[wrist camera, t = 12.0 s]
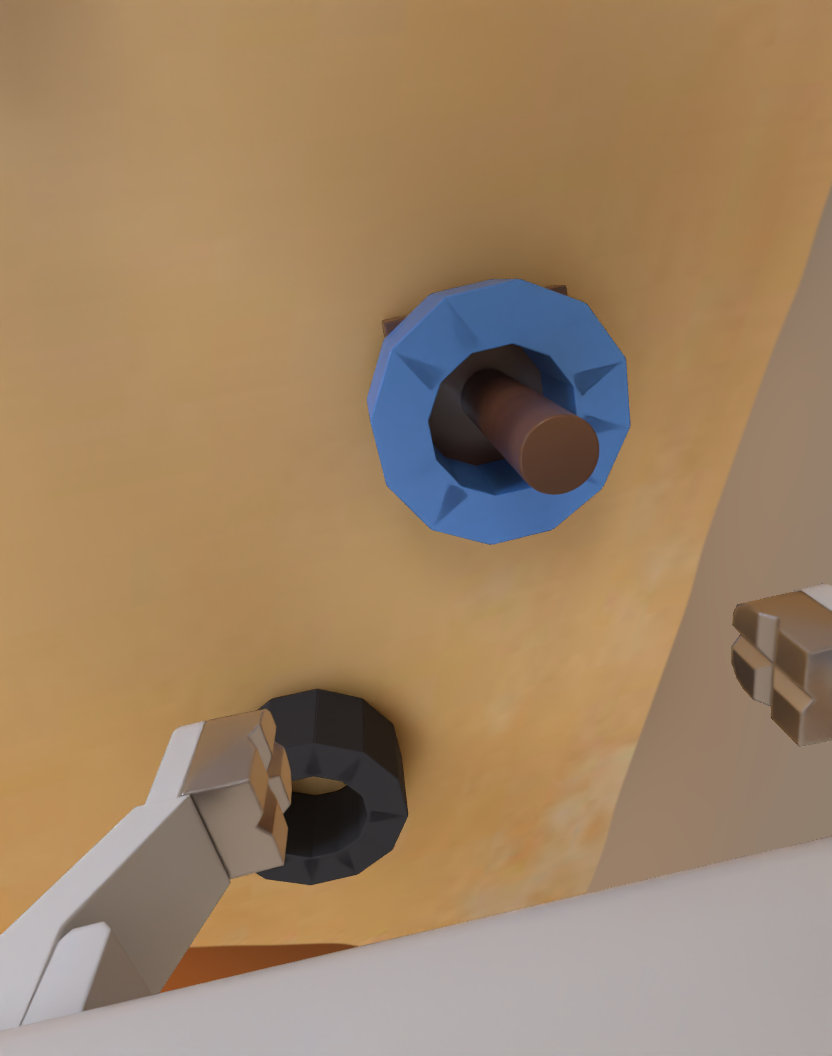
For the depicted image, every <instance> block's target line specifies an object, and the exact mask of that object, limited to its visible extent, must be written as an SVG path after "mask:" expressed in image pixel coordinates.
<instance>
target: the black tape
mask: <svg viewBox="0 0 832 1056" xmlns="http://www.w3.org/2000/svg"><path fill="white" fill-rule="evenodd" d="M262 709H267V710H268V711H270V712H271V715H272V717H273V719H274V722H275V724H276V734H275V742H277V743H278V744H280V745H282V746H283V747H284V749H285V752H286V755H287V757H288V762H289V766H290V771H291V781H294V780H299V779H303V778H307V777H312V776H315V777H321V778H326V779H332V780H338V781H342V782H344V783H345V784H346V785H347V786H346V787H344V788H343V789H342V790H340V791H337V792H333V793H328V794H324V795H319V796H312V795H306V794H300V793H294V792H292V794H291V805H290V806H289V807H288V809H287V810H286V811H285V812H284V814H283V816H284V818H285V821H286V824H287V826H288V834H287V843H286V852H285V860H284V865H283V866H279V867H275V868H271V869H267V870H263V871H260V872H256V873H257V874H258V875H260V876H261V877H263V878H265V879H269V880H276V881H284V882H291V883H298V884H306V885H314V884H318V883H323V882H327V881H331V880H336V879H340V878H345V877H349V876H353V875H357V874H359V873H360V872H362V871H363V870H365V869H366V868H367V867H369V866H370V865H372V864H373V863H375V862H376V861H377V860H379V859H380V858H382V857H383V856H384V855H386V854H387V853H389V852H390V851H391V850H392V849H393V848H394V846H395V843H396V841H397V839H398V837H399V835H400V832H401V830H402V828H403V826H404V824H405V821H406V819H407V817H408V808H407V799H406V790H405V781H404V773H403V764H402V756H401V753H400V749H399V745H398V741H397V737H396V733H395V729H394V726H393V724H392V723H391V722H390V721H389V720H387V719H386V718H385V717H384V716H383V715H381V714H380V713H379V712H378V711H377V710H375V709H374V708H373V707H372V706H371V705H369V704H368V703H367V702H366V701H365V700H364V699H362V698H357V697H352V696H348V695H343V694H338V693H334V692H329V691H324V690H319V689H318V690H317V689H316V690H311V691H307V692H302V693H297V694H293V695H288V696H284V697H279V698H275V699H272V700H270V701H269V702H268V703H266V704H265V705H264V706H263V707H261V708H260V709H259V710H262Z"/></svg>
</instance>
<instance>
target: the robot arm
mask: <svg viewBox="0 0 832 1056" xmlns="http://www.w3.org/2000/svg"><path fill="white" fill-rule="evenodd" d="M732 625H733V626H734V627H735V628H736V629H737V631H738V632H739V633H740V635H739V637H738V638H737V640H736V641H735V642H734V644H733V645H732V648H731V650H732V651H731V652H732V666H733V668H734V672H735V675H736V678H737V679H738V681H739V683H740V685H741V686H742V688H743V689H744V690H745V691H746V692H747V693H748V695H749V696H750V697H751V698H752V699H753V700H755V701H758V702H760V703H763V704H766V705H768V706H770V707H771V719H772V720H773V721H774V722H775V723H776V724H777V725H778V726H779V727H780V728H781V729H782V730H783V731H784V732H785V733H786V734H787V735H788V736H789V737H790V738H791V739H792V740H793V741H794V742H795V743H796V744H797V745H798V746H799V747H801V746H806V745H811V744H816V743H821V742H826V741H831V740H832V585H828V584H823V583H822V584H818V585H814V586H810V587H806V588H802V589H798V590H794V591H793V592H790V593H786V594H781V595H777V596H772V597H768V598H763V599H759V600H755V601H750V602H746V603H741V604H737V606H736V608H735V610H734V612H733V624H732ZM275 734H276V724H275V722H274V719H273V717H272V715H271V712H270V711H268V710H267V709H262V710H257V711H252V712H247V713H242V714H237V715H231V716H226V717H221V718H216V719H211V720H208V721H203V722H198V723H193V724H189V725H184V726H179V727H178V728H177V729H176V730H175V731H174V732H173V733H172V736H171V738H170V741H169V743H168V746H167V748H166V751H165V754H164V756H163V759H162V761H161V764H160V767H159V769H158V772H157V774H156V777H155V779H154V782H153V785H152V787H151V790H150V792H149V795H148V797H147V800H146V803H145V805H142V806H137V807H135V808H134V809H133V810H132V811H131V812H130V813H128V814H127V815H126V816H125V817H124V818H123V819H122V820H121V821H120V822H119V823H118V824H117V825H116V826H115V827H114V828H113V829H112V830H111V831H110V832H108V833H107V834H106V835H105V836H104V837H103V838H102V839H101V840H100V841H99V842H98V843H97V844H96V845H95V846H94V847H93V848H92V849H91V850H90V851H89V852H87V853H86V854H85V855H84V856H83V857H82V858H81V859H80V860H79V861H78V862H77V863H76V864H75V865H74V866H73V867H72V868H71V869H70V870H69V871H68V872H66V873H65V874H64V875H63V876H62V877H61V878H60V879H59V880H58V881H57V882H56V883H55V884H54V885H53V886H52V887H51V888H50V889H49V890H48V891H47V892H45V893H44V894H43V895H42V896H41V897H40V898H39V899H38V900H37V901H36V902H35V903H34V904H33V905H32V906H31V907H30V908H29V909H28V910H27V911H26V912H24V913H23V914H22V915H21V916H20V917H19V918H18V919H17V920H16V921H15V922H14V923H13V924H12V925H11V926H10V927H9V928H8V929H7V930H6V931H4V932H3V933H2V934H1V935H0V1056H832V836H830V837H825V838H821V839H816V840H812V841H808V842H804V843H800V844H795V845H791V846H786V847H782V848H778V849H774V850H770V851H765V852H761V853H757V854H753V855H748V856H744V857H739V858H735V859H731V860H727V861H722V862H718V863H714V864H710V865H705V866H701V867H697V868H693V869H688V870H684V871H680V872H675V873H671V874H667V875H663V876H658V877H654V878H650V879H646V880H641V881H637V882H633V883H628V884H624V885H620V886H616V887H611V888H607V889H603V890H599V891H594V892H590V893H586V894H581V895H577V896H573V897H569V898H564V899H560V900H556V901H552V902H547V903H543V904H539V905H535V906H530V907H526V908H522V909H517V910H513V911H509V912H505V913H500V914H496V915H492V916H488V917H483V918H479V919H475V920H471V921H466V922H462V923H458V924H453V925H449V926H445V927H441V928H436V929H432V930H428V931H424V932H419V933H415V934H411V935H407V936H402V937H398V938H394V939H390V940H385V941H381V942H377V943H372V944H368V945H364V946H360V947H355V948H351V949H347V950H343V951H338V952H334V953H330V954H326V955H321V956H317V957H313V958H308V959H304V960H300V961H296V962H291V963H288V964H283V965H279V966H274V967H270V968H266V969H262V970H257V971H253V972H249V973H244V974H241V975H236V976H232V977H228V978H223V979H219V980H215V981H210V982H206V983H202V984H198V985H193V986H189V987H185V988H181V989H176V990H172V991H168V992H164V993H160V991H161V990H162V988H163V987H164V985H165V983H166V982H167V980H168V979H169V977H170V976H171V974H172V973H173V971H174V969H175V968H176V966H177V965H178V963H179V961H180V960H181V959H182V957H183V955H184V954H185V952H186V951H187V949H188V948H189V946H190V945H191V943H192V942H193V940H194V938H195V937H196V935H197V934H198V932H199V931H200V929H201V928H202V926H203V925H204V923H205V921H206V920H207V918H208V917H209V915H210V914H211V912H212V911H213V909H214V907H215V906H216V904H217V903H218V901H219V900H220V898H221V897H222V895H223V894H224V892H225V890H226V889H227V887H228V886H229V884H230V883H231V882H230V880H229V879H233V878H237V877H240V876H244V875H248V874H252V873H256V872H260V871H263V870H267V869H271V868H275V867H279V866H283V865H284V860H285V852H286V843H287V834H288V826H287V824H286V821H285V818H284V816H283V814H284V812H285V811H286V810H287V809H288V807H289V806H290V805H291V794H292V783H291V771H290V766H289V762H288V757H287V755H286V752H285V749H284V747H283V746H282V745H280V744H278V743H277V742H275Z"/></svg>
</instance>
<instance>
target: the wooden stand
mask: <svg viewBox="0 0 832 1056" xmlns="http://www.w3.org/2000/svg"><path fill="white" fill-rule="evenodd" d="M544 288H546V289H549V290H552V291H555V292H557V293H560V294H563V295H566V296H567V288H566V286H565V285H554V286H549V287H544ZM407 316H408V315H407ZM407 316H402V317H397V318H392V319H387V320H383V321H382V327H383V332H384V337H385V338H386V337H387V336H388V335H389V334H390V333H391V332H392V331H393V330H394V329H395V328H396V327H397V326H398V325H399V324H400V323H401V322H402V321H403V320H404V319H405V318H406V317H407ZM428 422H429V427H430V432H431V437H432V441H433V444H434V446H435V447H436V448H437V449H438V450H439V451H440V452H441V453H442V454H443V455H444V456H445V457H447V458H450V459H454V460H457V461H461V462H464V463H468V464H471V465H475V466H477V465H481V464H485V463H489V462H493V461H497V460H502V459H506V460H507V461H508V462H509V463H510V465H511V466H512V467H513V468H514V469H515V470H516V471H517V472H518V474H519V475H520V476H521V477H522V478H523V479H524V480H525V481H526V482H527V484H528V485H529V486H531V487H532V488H533V489H535V490H536V491H538V492H541V493H544V494H550V495H558V494H564V493H568V492H570V491H573V490H575V489H576V488H578V487H579V486H581V485H582V484H583V483H584V482H586V481H587V479H588V478H589V477H590V476H591V474H592V473H593V471H594V469H595V467H596V465H597V462H598V458H599V441H598V437H597V435H596V433H595V431H594V429H593V428H592V427H591V425H590V424H589V423H587V422H586V421H585V420H583V419H582V418H580V417H578V416H577V415H575V414H573V413H572V412H570V411H568V410H566V409H565V408H563V407H561V406H560V405H558V404H556V403H554V402H553V401H551V400H549V399H548V398H546V397H544V396H543V389H542V381H541V374H540V370H539V369H538V368H537V367H536V365H535V364H534V363H533V362H532V360H531V359H530V358H529V357H528V355H527V354H526V353H525V352H524V350H523V349H522V348H521V347H520V346H517V345H514V344H509V345H505V346H501V347H497V348H493V349H488V350H484V351H480V352H476V353H472V354H471V355H470V356H469V357H468V358H467V359H465V360H464V361H463V362H462V363H461V364H460V365H459V366H458V367H457V368H456V369H455V370H454V371H453V372H452V373H451V374H449V375H448V376H447V377H446V378H445V379H444V380H443V381H442V382H441V384H440V387H439V390H438V393H437V396H436V399H435V402H434V405H433V409H432V412H431V415H430V418H429V421H428Z"/></svg>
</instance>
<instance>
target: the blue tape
mask: <svg viewBox="0 0 832 1056" xmlns="http://www.w3.org/2000/svg"><path fill="white" fill-rule="evenodd" d="M509 344H514V345H517V346H520V347H521V348H522V349H523V350H524V352H525V353H526V354H527V355H528V357H529V358H530V359H531V360H532V362H533V363H534V364H535V365H536V367H537V368H538V369H539V370H540V374H541V381H542V389H543V396H544V397H546V398H548V399H549V400H551V401H553V402H554V403H556V404H558V405H560V406H561V407H563V408H565V409H566V410H568V411H570V412H572V413H573V414H575V415H577V416H578V417H580V418H582V419H583V420H585V421H586V422H587V423H589V424H590V425H591V427H592V428H593V429H594V431H595V433H596V435H597V437H598V441H599V458H598V462H597V465H596V467H595V469H594V471H593V473H592V474H591V476H590V477H589V478H588V479H587V481H586V482H584V483H583V484H582V485H581V486H579V487H578V488H576V489H575V490H573V491H570V492H568V493H564V494H558V495H550V494H544V493H541V492H538V491H536V490H535V489H533V488H532V487H531V486H529V485H528V484H527V482H526V481H525V480H524V479H523V478H522V477H521V476H520V475H519V474H518V472H517V471H516V470H515V469H514V468H513V467H512V466H511V465H510V463H509V462H508V461H507V460H506V459H502V460H497V461H493V462H489V463H485V464H481V465H477V466H475V465H471V464H468V463H464V462H461V461H457V460H454V459H450V458H447V457H445V456H444V455H443V454H442V453H441V452H440V451H439V450H438V449H437V448H436V447H435V446H434V444H433V441H432V437H431V432H430V427H429V422H428V421H429V418H430V415H431V412H432V409H433V405H434V402H435V399H436V396H437V393H438V390H439V387H440V384H441V382H442V381H443V380H444V379H445V378H446V377H447V376H448V375H449V374H451V373H452V372H453V371H454V370H455V369H456V368H457V367H458V366H459V365H460V364H461V363H462V362H463V361H464V360H465V359H467V358H468V357H469V356H470V355H471V354H472V353H476V352H480V351H484V350H488V349H493V348H497V347H501V346H505V345H509ZM367 404H368V410H369V416H370V422H371V426H372V430H373V434H374V438H375V442H376V446H377V450H378V453H379V457H380V461H381V465H382V469H383V473H384V477H385V481H386V485H387V486H388V487H389V488H390V489H391V490H392V491H393V492H394V493H395V494H396V495H397V496H398V497H399V498H400V499H401V500H402V501H403V502H404V503H405V504H406V505H407V506H408V507H409V508H410V509H411V510H412V511H413V512H414V513H415V514H416V515H417V516H418V517H419V518H420V519H421V520H422V521H423V522H424V523H425V524H426V525H427V526H428V527H429V528H430V529H432V530H434V531H438V532H442V533H446V534H450V535H454V536H458V537H462V538H466V539H470V540H474V541H477V542H481V543H485V544H489V545H491V544H497V543H501V542H505V541H509V540H513V539H517V538H521V537H525V536H529V535H533V534H538V533H542V532H546V531H550V530H552V529H554V528H555V527H557V526H558V525H559V524H560V523H561V522H563V521H564V520H565V519H566V518H567V517H568V516H570V515H571V514H572V513H573V512H574V511H576V510H577V509H578V508H579V507H580V506H582V505H583V504H584V503H585V502H586V501H588V500H589V499H590V498H591V497H592V496H594V495H595V494H596V493H597V492H598V491H600V490H601V489H602V487H603V486H604V484H605V482H606V480H607V477H608V475H609V473H610V471H611V468H612V466H613V464H614V462H615V459H616V457H617V455H618V453H619V451H620V448H621V446H622V444H623V442H624V439H625V437H626V435H627V433H628V431H629V428H630V427H629V426H630V412H629V397H628V382H627V367H626V358H625V356H624V355H623V354H622V352H621V351H620V349H619V348H618V347H617V345H616V344H615V342H614V341H613V340H612V338H611V337H610V335H609V334H608V333H607V331H606V330H605V329H604V327H603V326H602V324H601V323H600V322H599V320H598V319H597V317H596V316H595V315H594V313H593V312H592V310H591V309H590V308H589V306H588V305H587V304H586V303H584V302H582V301H579V300H577V299H574V298H571V297H568V296H566V295H563V294H560V293H557V292H555V291H552V290H549V289H546V288H544V287H541V286H538V285H535V284H533V283H530V282H527V281H524V280H522V279H490V280H486V281H481V282H477V283H473V284H469V285H465V286H461V287H456V288H452V289H448V290H444V291H440V292H435V293H432V294H430V295H428V296H427V297H426V298H425V299H424V300H423V301H422V302H421V303H420V304H419V305H418V306H417V307H416V308H415V309H414V310H413V311H412V312H411V313H410V314H409V315H408V316H407V317H406V318H405V319H404V320H403V321H402V322H401V323H400V324H399V325H398V326H397V327H396V328H395V329H394V330H393V331H392V332H391V333H390V334H389V335H388V336H387V337H386V338H385V340H384V341H383V344H382V348H381V351H380V355H379V358H378V362H377V365H376V369H375V372H374V376H373V379H372V383H371V386H370V390H369V393H368V397H367Z"/></svg>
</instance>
